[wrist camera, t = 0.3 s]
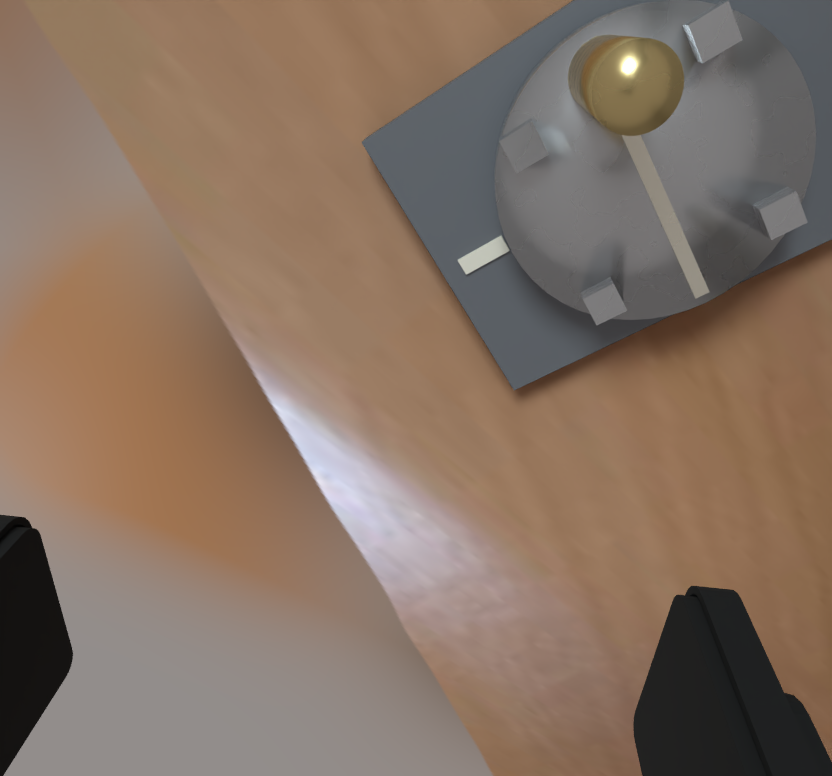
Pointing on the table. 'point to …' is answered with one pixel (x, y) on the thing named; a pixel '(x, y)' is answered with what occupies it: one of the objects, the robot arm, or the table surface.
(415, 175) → the base plate
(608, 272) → the disc with brass post
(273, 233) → the table surface
